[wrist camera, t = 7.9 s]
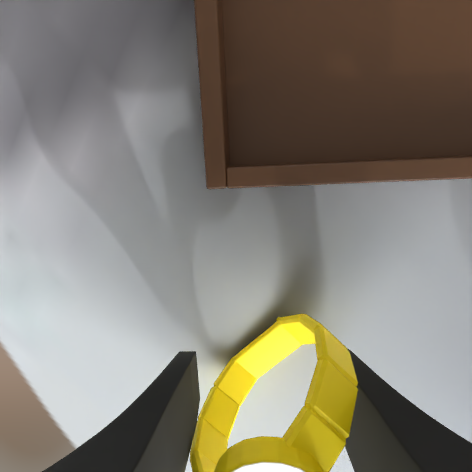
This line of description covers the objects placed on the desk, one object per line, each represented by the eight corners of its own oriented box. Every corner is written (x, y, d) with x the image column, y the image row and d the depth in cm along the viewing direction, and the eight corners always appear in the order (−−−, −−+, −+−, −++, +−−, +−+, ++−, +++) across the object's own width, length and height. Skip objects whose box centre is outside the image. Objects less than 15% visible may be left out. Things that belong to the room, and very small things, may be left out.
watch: (293, 278, 12) (334, 390, 6) (342, 324, 12) (423, 470, 7) (191, 371, 13) (145, 538, 7) (238, 410, 14) (229, 597, 8)
